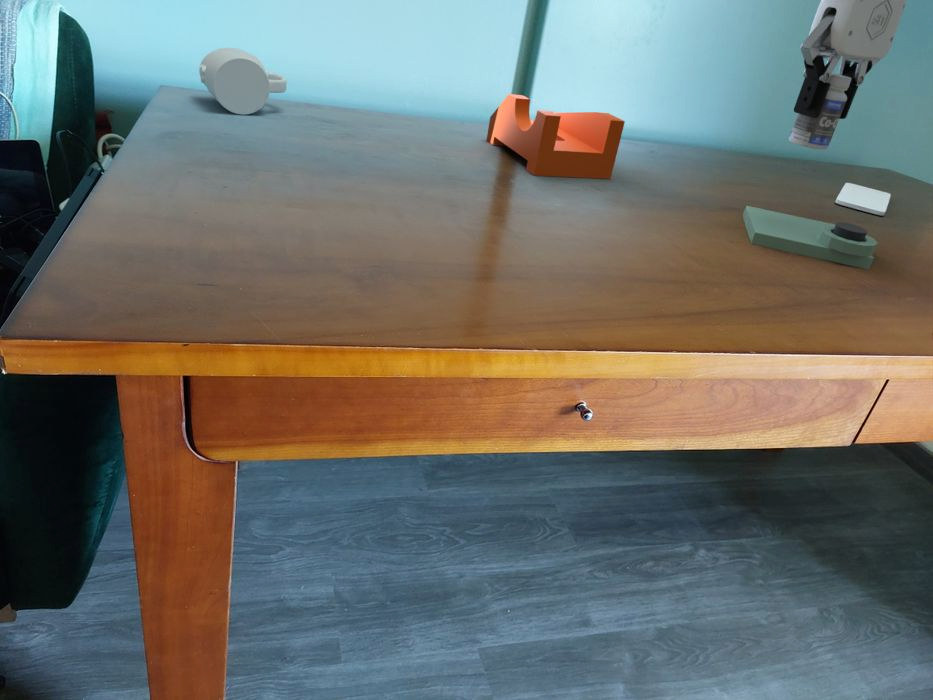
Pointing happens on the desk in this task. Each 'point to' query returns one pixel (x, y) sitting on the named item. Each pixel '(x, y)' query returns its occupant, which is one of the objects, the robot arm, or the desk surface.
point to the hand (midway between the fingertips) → (819, 114)
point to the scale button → (850, 231)
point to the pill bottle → (822, 117)
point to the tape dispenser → (557, 139)
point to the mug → (239, 80)
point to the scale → (806, 238)
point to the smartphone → (863, 199)
